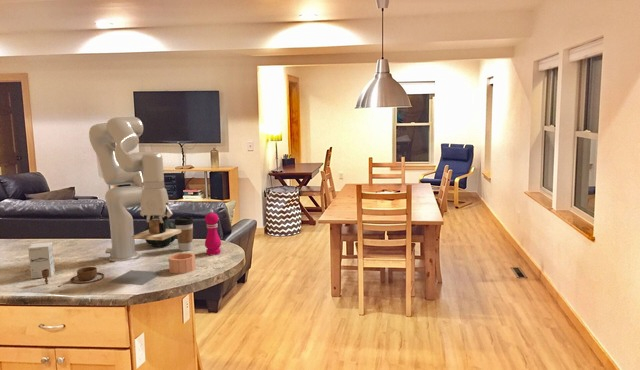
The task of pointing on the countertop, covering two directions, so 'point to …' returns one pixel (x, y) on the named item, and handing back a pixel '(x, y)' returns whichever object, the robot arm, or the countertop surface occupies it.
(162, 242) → the squash
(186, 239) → the coffee cup
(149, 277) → the tray
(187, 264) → the bowl
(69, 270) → the countertop surface
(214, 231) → the pepper mill
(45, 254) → the supplement box
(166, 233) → the lid
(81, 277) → the place setting
